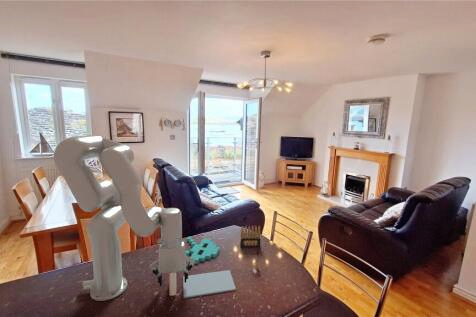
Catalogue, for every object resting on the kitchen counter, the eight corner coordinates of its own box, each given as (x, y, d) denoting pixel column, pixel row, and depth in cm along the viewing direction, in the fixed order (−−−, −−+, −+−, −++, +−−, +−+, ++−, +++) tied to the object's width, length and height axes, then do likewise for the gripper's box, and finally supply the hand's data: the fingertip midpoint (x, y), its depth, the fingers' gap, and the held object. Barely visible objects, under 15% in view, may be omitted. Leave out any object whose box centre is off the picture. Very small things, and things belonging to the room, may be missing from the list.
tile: (169, 295, 87) (168, 274, 86) (170, 283, 94) (169, 263, 93) (176, 294, 88) (175, 273, 87) (176, 282, 95) (175, 262, 93)
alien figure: (171, 260, 110) (211, 266, 106) (171, 256, 110) (211, 262, 106) (188, 240, 130) (223, 244, 126) (188, 236, 129) (223, 240, 125)
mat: (183, 298, 86) (183, 296, 86) (183, 277, 98) (183, 276, 98) (235, 290, 91) (235, 288, 91) (229, 271, 103) (229, 270, 103)
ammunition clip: (259, 245, 125) (260, 224, 123) (260, 247, 123) (261, 226, 121) (240, 246, 124) (240, 224, 122) (240, 247, 122) (240, 226, 120)
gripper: (146, 248, 82) (148, 292, 85) (195, 243, 87) (196, 285, 89) (149, 238, 90) (151, 279, 92) (194, 234, 94) (195, 273, 96)
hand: (173, 282), depth 91 cm, fingers open, 8 cm apart
